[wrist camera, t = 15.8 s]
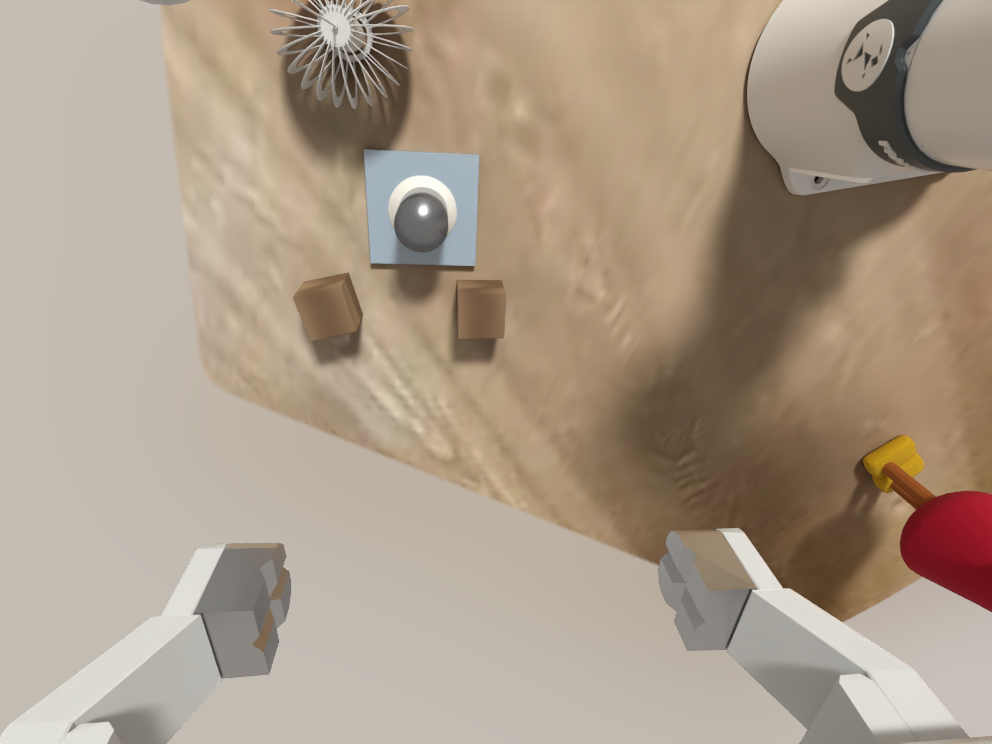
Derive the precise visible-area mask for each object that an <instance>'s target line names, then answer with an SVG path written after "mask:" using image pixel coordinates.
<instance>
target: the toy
mask: <svg viewBox="0 0 992 744" xmlns="http://www.w3.org/2000/svg"><path fill="white" fill-rule="evenodd" d="M863 463H864V466H865V468H866V469H867V470H868V472H869V473H870V474H871V475H872V479H873V482H874V483H875V485H876V486H877V487H878V488H879V489H880V490H882V491H883V492H885V493H889V492H892V491H895V492H896V493H898V494H899V495H900V496H901V497H902V498H903V499H904V500H906V501H907V502H908V503H909V504H910V505H911V506H913V507H914V508H915V509H916V511H915V512H914V513H913V514H912V515H911V516H910V517H909V519H908V520H907V522H906V524H905V526H904V527H903V530H902V534H901V539H900V551H901V555H902V558H903V560H904V562H905V563H906V565H907V566H908V567H909V568H910V569H911V570H912V571H914V572H915V573H917V574H918V575H920V576H922V577H924V578H926V579H928V580H930V581H932V582H934V583H937V584H938V585H940V586H942V587H944V588H946V589H948V590H950V591H952V592H954V593H956V594H958V595H960V596H962V597H964V598H966V599H968V600H970V601H972V602H974V603H976V604H978V605H980V606H981V607H983V608H985V609H987V610H989V611H991V612H992V495H991V494H988V493H984V492H977V491H960V492H953V493H947V494H944V495H941V496H938V497H936V496H934V495H933V494H932V493H931V492H930V491H928V490H927V489H926V488H925V487H923V486H922V485H921V484H920V483H918V482H917V481H916V480H915V479H914V478H913V477H914V476H916V475H917V474H918V473H919V472H921V471H922V470H923V469H924V463H923V459H922V458H921V457H920V456H919V455H918V454H917V453H916V447H915V443H914V442H913V441H912V440H911V438H909V437H907V436H905V435H901V436H898V437H896V438H895V439H893V440H891V441H890V442H888V443H887V444H885V445H883V446H882V447H880V448H878V449H877V450H875V451H873V452H872V453H870V454H868V455H867V456H865V457H864V458H863Z"/></svg>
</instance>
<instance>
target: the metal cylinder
mask: <svg viewBox="0 0 992 744" xmlns="http://www.w3.org/2000/svg"><path fill="white" fill-rule="evenodd" d="M394 229H395V233H396V236H397V238H398V239H399V241H400V242H401V243H402V244H403V245H404V246H405V247H406V248H408V249H410V250H412V251H415V252H421V253H424V252H430V251H433V250H435V249H436V248H438V247H439V246H440V245H441V244H442V243H443V242H444V240H445V239H446V236H447V233H448V210H447V205H446V203H445V200H444V199H443V197H442V196H441V195H440V194H439V193H438V192H436V191H435V190H433V189H431V188H427V187H417V188H414V189H411V190H410V191H408V192H407V193H406V194H405V195H404V196H403V198H402V200H401V202H400V204H399V207H398V210H397V212H396V215H395V219H394Z"/></svg>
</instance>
